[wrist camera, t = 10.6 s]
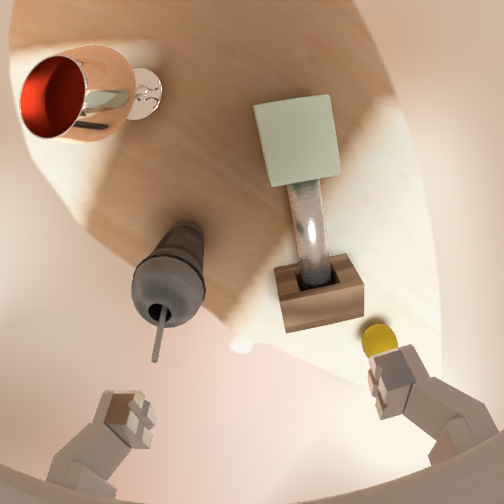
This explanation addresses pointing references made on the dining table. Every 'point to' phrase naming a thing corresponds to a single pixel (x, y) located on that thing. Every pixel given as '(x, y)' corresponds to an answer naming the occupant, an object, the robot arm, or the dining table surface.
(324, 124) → the sage green block
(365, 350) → the lemon
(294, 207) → the tube
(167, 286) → the beverage cup
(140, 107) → the wineglass
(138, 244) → the dining table surface
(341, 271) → the socket
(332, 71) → the dining table surface
